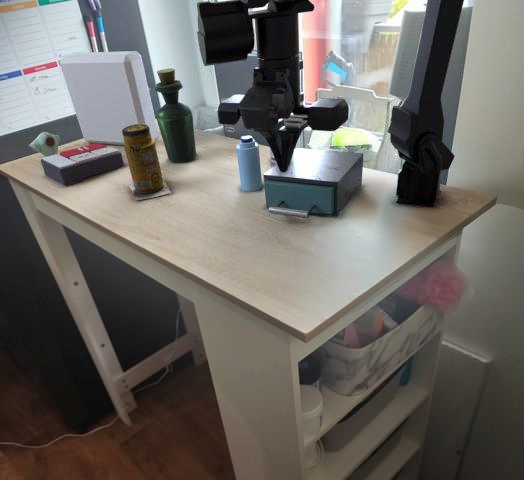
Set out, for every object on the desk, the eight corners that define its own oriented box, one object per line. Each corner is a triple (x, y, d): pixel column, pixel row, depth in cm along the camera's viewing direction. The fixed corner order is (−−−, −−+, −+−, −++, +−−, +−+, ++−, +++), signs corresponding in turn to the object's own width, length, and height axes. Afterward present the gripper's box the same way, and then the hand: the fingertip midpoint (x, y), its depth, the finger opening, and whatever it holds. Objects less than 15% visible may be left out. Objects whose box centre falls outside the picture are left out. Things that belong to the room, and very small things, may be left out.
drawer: (322, 225, 77) (322, 200, 74) (255, 216, 82) (252, 192, 79) (355, 185, 88) (356, 162, 85) (294, 179, 93) (293, 157, 90)
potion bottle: (167, 166, 107) (147, 77, 95) (164, 155, 113) (145, 69, 101) (202, 160, 108) (187, 71, 96) (197, 149, 114) (183, 64, 102)
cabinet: (337, 217, 81) (337, 182, 77) (266, 207, 86) (263, 174, 82) (361, 186, 90) (363, 153, 86) (296, 179, 95) (294, 148, 91)
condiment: (163, 179, 101) (149, 119, 93) (171, 193, 95) (157, 130, 87) (129, 187, 100) (113, 127, 92) (135, 201, 93) (118, 138, 86)
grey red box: (121, 149, 108) (58, 166, 100) (125, 168, 110) (65, 186, 103) (98, 140, 114) (38, 156, 107) (103, 159, 117) (44, 175, 109)
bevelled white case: (165, 138, 123) (146, 48, 110) (147, 148, 118) (125, 56, 105) (102, 134, 131) (77, 50, 118) (82, 144, 125) (54, 57, 112)
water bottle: (265, 184, 94) (261, 134, 88) (256, 192, 92) (251, 141, 85) (247, 182, 96) (242, 132, 90) (237, 190, 93) (231, 140, 87)
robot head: (62, 154, 121) (52, 126, 116) (71, 156, 119) (62, 128, 114) (35, 164, 116) (23, 136, 112) (44, 167, 114) (32, 138, 110)
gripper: (188, 68, 62) (206, 184, 72) (320, 70, 55) (320, 199, 65) (230, 51, 69) (241, 159, 80) (352, 51, 62) (347, 169, 72)
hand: (284, 171), depth 74 cm, fingers closed
